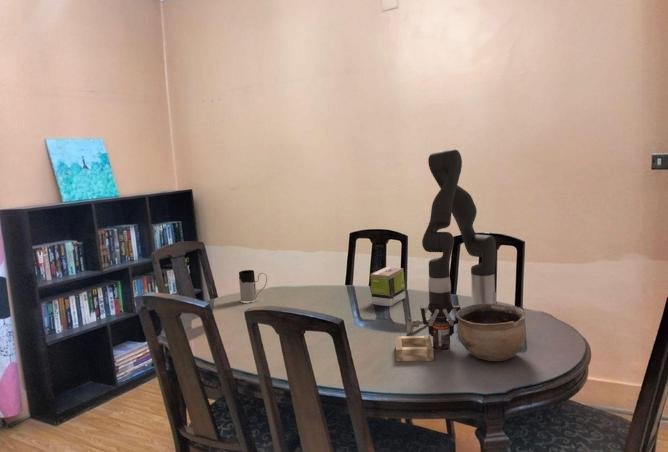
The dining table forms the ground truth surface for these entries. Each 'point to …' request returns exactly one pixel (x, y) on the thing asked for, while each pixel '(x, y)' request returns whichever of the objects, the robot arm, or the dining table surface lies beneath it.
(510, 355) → the ceramic bowl
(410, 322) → the caliper
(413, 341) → the square sleeve
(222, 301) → the dining table surface
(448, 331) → the supplement bottle
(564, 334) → the dining table surface
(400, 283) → the tea box
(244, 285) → the glass holder
